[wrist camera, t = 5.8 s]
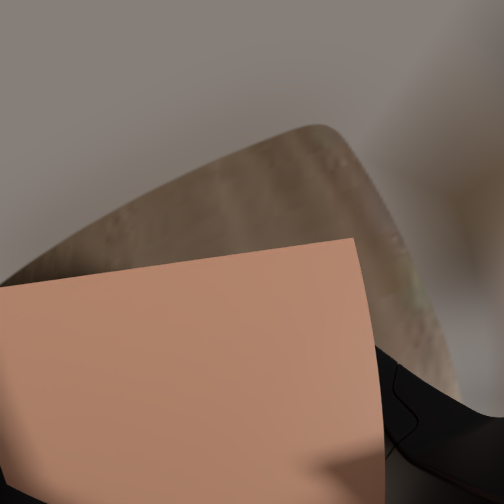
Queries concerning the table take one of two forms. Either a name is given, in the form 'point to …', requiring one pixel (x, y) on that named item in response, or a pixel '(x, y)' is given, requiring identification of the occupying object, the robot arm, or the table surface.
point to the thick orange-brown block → (195, 383)
